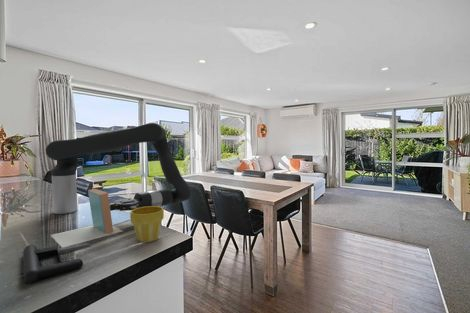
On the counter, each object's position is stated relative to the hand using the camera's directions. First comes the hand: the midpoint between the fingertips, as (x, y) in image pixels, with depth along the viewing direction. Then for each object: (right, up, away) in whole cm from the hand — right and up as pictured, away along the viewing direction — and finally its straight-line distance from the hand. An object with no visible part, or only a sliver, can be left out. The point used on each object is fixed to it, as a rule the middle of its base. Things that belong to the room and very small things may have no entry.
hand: (104, 208), depth 86 cm
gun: (0, -10, -22) cm, 24 cm away
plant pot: (+19, -9, -7) cm, 22 cm away
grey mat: (-4, -8, -4) cm, 10 cm away
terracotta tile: (0, -7, 0) cm, 7 cm away
